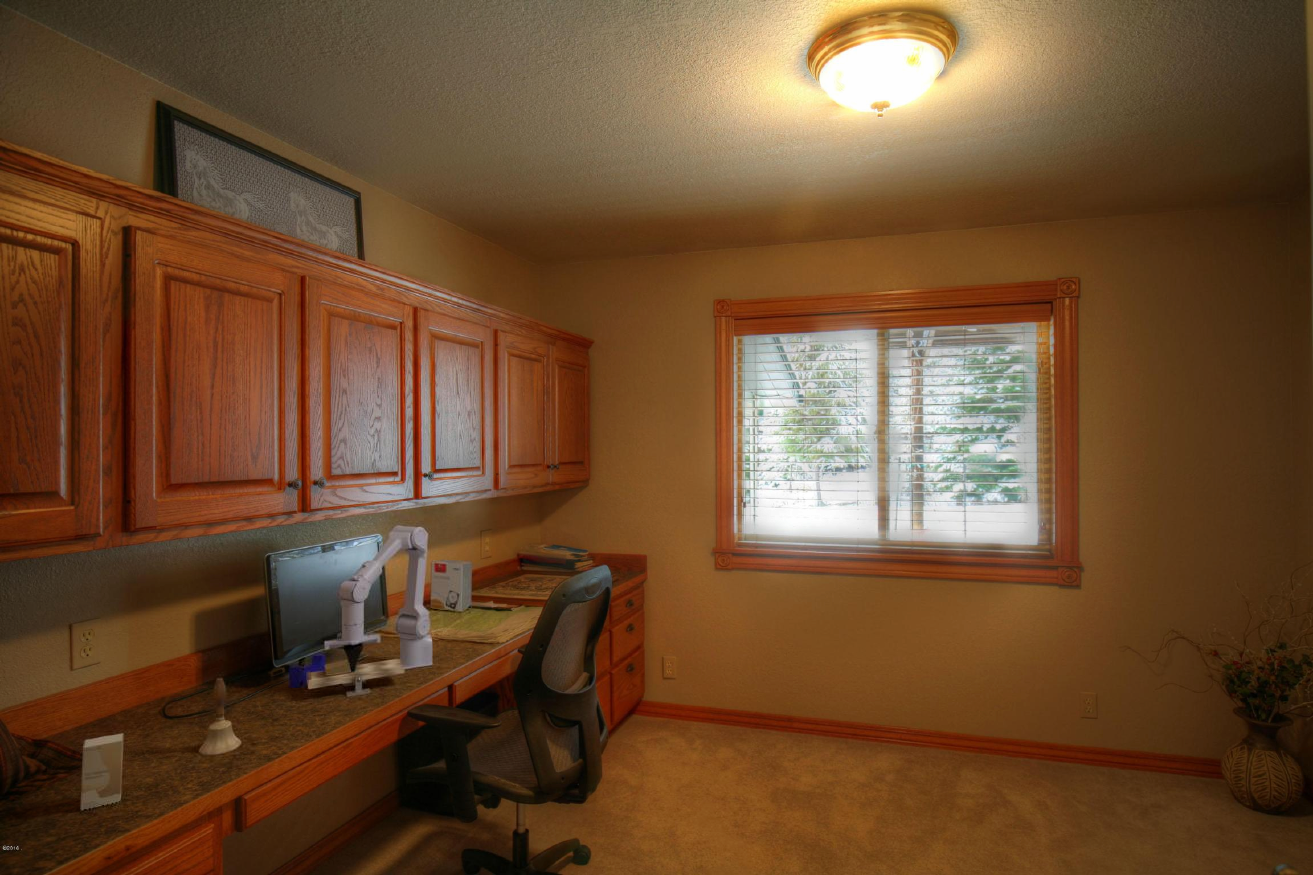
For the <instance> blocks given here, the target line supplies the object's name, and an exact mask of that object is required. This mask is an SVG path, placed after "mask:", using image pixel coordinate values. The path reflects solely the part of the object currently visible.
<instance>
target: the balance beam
mask: <svg viewBox="0 0 1313 875" xmlns="http://www.w3.org/2000/svg"><path fill="white" fill-rule="evenodd" d="M349 668H350V665H349ZM405 670H406V669H405V665H402V664H401V659H400V658H393V659H388V660H383V661H382V660H381V661H375V662H369V663H363V664H356V668H355V672H351V670H350V673H349V674H343V675H337V676H331V677H326V676H325V670H324V671H318V672H311V673H310V672H307V684H306V685H307V689H308V690H312V689H317V688H323V687H329V686H335V685H340V684H342V685H343V683H348V682H354V681H355V676H358V675H362V680H365V679H366V680H369V679H370V680H371V679H376V678H383V677H387V676H393V675H399V674H400V675H401V674H405Z"/></svg>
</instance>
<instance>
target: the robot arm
mask: <svg viewBox="0 0 1313 875" xmlns="http://www.w3.org/2000/svg"><path fill="white" fill-rule="evenodd" d="M387 536H388V537H387V538H388V539H387V540H386V541H385V542H384V544H383V546H381V547H380V549H379V551H378V552H377V553H376V555H375V556H374V557H373V559H371V560H366V561H364V562H362V564H361V566H360V567H359V568H358V569H357V571H356V572H355V573H354V574H353V575H352V576H351V577H350V579H349V580H345V581H344V582H342V583H341V584H340V585H339V587H338V591H337V592H336V595H337V597H338V598H337V599H338V600H340V606H341V637H340V638H336V639H330V640H324V641H323V642H324V646H323V647H324V650H325V651H327V650H330V649H336V648H342V649H343V651H344V652H345V654H346V657H347V660H348V663H349V666H350V670H351V672H355V668H356V665H358V664H357V663H358V661H359V658H360V656H361V654H362V652H363V649H364V646H363V645H365V644H374V643H376V644H378V643H381V634H380V633H378V634H364V633H365V625H364V624H365V622H364V621H365V615H364V614H365V612H364V611H365V600H366V599H367V598H368V597H369V594H370V590H371V587H372V586H373V584H374V583H375V582H376V581H377V580H378V578H379V577H380V576H381V575H382V573H383V566H385V564H387V562H389V561H390V560H391V559H392V557H394V555H395V554H397V552H398V551H401V550H403V551H404V552H405V553H406V554H407V555H408V565H407V574H406V575H407V576H406V586H405V595H404V596H405V597H404V606H403V607H401V608H400V609H399V610H397V611H398V612H397V617H396V619H395V622H394V629H395V630H394V631H395V632H396V634H398V637H399V638H400V644H399V646H400V648H399V649H400V651H399V652H400V654H399V657H400V658H399V659H401V664H402V665H405V670H408V669H409V670H410V669H416V668H422V667H429V666H433V639H432V636H431V634H428V633H429V632H430V628H431V621H430V611H429V610H428V609H426V608H425V606H424V594H425V582H426V572H427V558H428V539H429V533H428V532H427V530H425V528H424V527H423V526H417V527H416V526H408V525H407V526H403V525H396V526H394V527H393V528H392V529H391V531H390V532H388V534H387Z"/></svg>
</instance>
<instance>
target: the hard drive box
mask: <svg viewBox="0 0 1313 875" xmlns="http://www.w3.org/2000/svg"><path fill="white" fill-rule="evenodd" d="M472 575H473V562H471V561H463V560H449V559H439V560H435V561H432V562H430V609H431V608H438V609H451V610H457V611H463V610H465V609H467V608H468V607H469V606H470V605H471V606H472V583H473V582H472V578H473V577H472Z"/></svg>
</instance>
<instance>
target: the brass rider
mask: <svg viewBox="0 0 1313 875" xmlns="http://www.w3.org/2000/svg"><path fill="white" fill-rule="evenodd" d="M349 666H350V664H349V660H348V658H347V659H344V660H338V661H334V662H331V663H327V664H326V663H325V665H324V668H325V676H326V677H331V676H337V675H343V674H349V673H350V668H349Z"/></svg>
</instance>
